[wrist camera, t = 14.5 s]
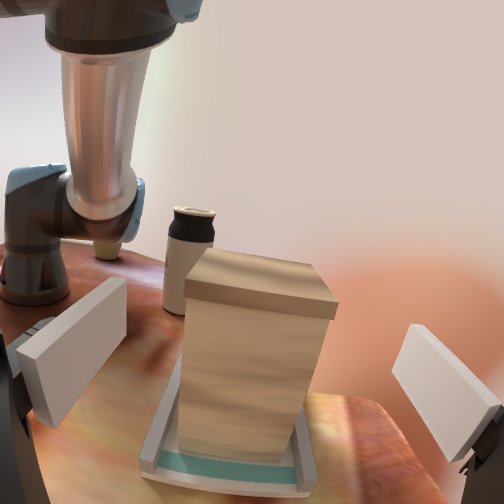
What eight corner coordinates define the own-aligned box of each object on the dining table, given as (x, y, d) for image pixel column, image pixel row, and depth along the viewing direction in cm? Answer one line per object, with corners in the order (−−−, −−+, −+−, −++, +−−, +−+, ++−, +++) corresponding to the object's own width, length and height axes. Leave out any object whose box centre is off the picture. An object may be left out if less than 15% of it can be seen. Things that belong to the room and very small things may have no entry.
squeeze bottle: (100, 251, 77) (105, 188, 73) (125, 256, 77) (131, 191, 74) (87, 258, 69) (92, 189, 65) (113, 263, 69) (119, 192, 66)
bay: (192, 338, 43) (198, 283, 41) (283, 352, 43) (296, 299, 42) (141, 476, 18) (131, 406, 16) (307, 497, 18) (345, 434, 16)
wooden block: (192, 388, 30) (208, 247, 26) (276, 400, 30) (310, 264, 27) (174, 449, 21) (185, 278, 17) (282, 463, 21) (338, 302, 18)
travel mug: (208, 304, 57) (221, 212, 53) (198, 320, 49) (212, 215, 46) (170, 295, 57) (180, 205, 54) (155, 310, 50) (164, 207, 46)
